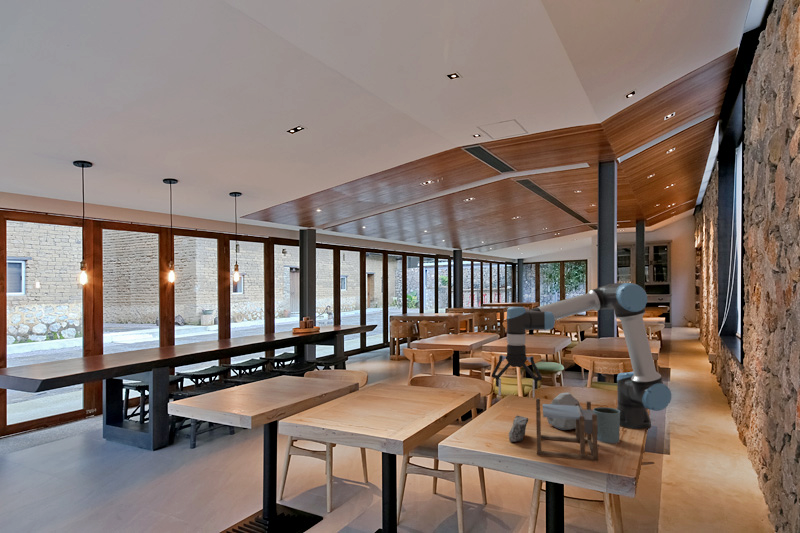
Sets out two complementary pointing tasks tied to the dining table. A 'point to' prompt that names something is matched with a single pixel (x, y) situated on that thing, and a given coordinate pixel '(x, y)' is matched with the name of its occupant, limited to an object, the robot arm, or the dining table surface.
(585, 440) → the brown wooden frame
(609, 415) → the grey-green cylindrical pot
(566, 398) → the stone
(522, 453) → the dining table surface
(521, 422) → the rock
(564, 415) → the grey hammer-shaped piece
